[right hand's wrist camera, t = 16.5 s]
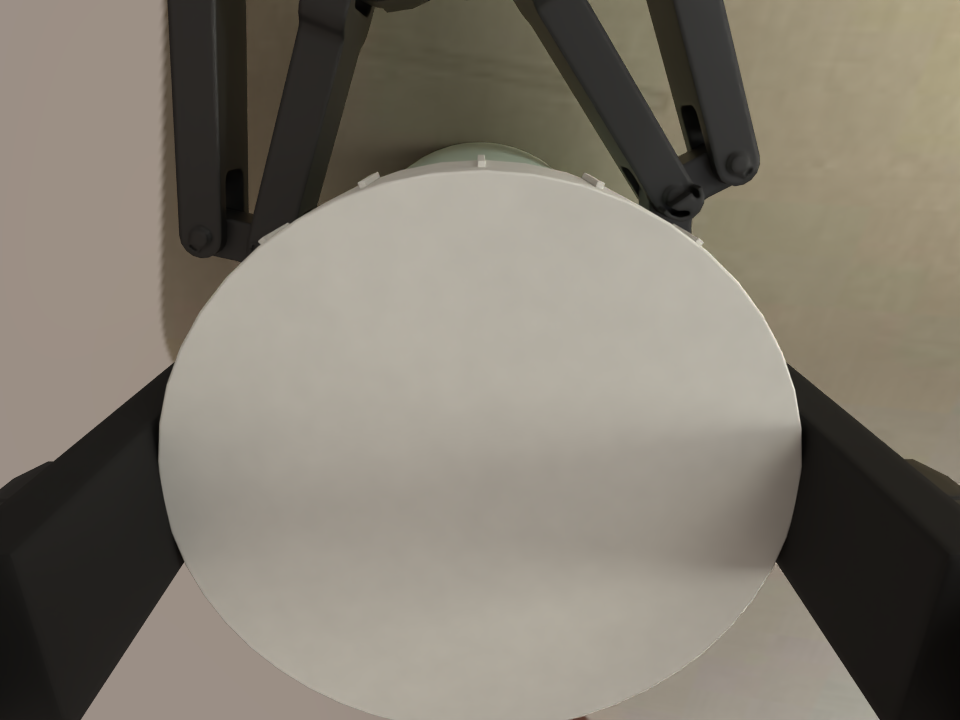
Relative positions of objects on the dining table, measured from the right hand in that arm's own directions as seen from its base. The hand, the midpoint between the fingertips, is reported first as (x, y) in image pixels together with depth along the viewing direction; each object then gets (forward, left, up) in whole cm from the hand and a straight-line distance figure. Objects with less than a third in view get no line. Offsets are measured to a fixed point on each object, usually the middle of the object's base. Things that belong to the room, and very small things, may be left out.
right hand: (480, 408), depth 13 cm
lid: (0, 0, +3) cm, 3 cm away
